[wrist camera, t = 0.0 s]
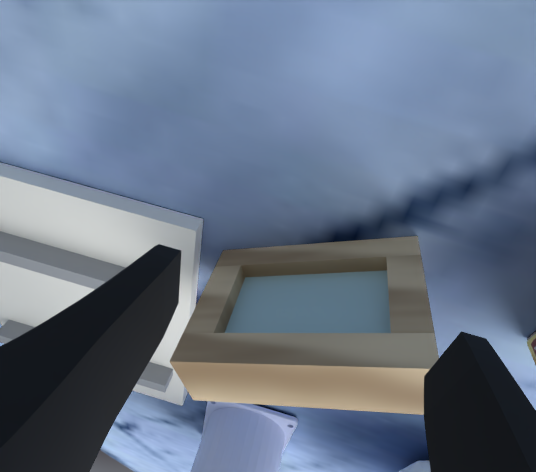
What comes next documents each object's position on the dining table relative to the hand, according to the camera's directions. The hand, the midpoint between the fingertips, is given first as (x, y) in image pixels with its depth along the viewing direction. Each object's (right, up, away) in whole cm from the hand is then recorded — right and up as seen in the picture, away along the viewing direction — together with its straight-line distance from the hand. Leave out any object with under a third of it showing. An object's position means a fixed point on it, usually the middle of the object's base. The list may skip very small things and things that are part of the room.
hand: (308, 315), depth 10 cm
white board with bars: (-14, -2, +19) cm, 24 cm away
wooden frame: (+2, 0, +12) cm, 12 cm away
